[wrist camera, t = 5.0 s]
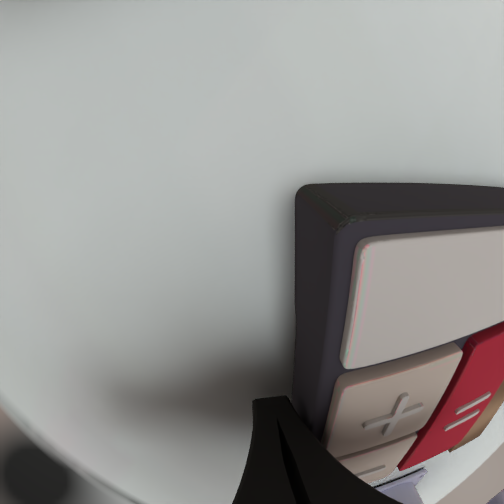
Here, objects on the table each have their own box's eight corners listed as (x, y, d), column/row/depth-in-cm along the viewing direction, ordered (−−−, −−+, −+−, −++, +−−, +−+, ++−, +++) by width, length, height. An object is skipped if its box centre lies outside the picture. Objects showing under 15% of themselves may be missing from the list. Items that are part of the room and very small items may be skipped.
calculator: (298, 507, 11) (352, 230, 5) (284, 447, 15) (293, 183, 9) (462, 446, 13) (574, 217, 6) (435, 403, 16) (507, 187, 10)
